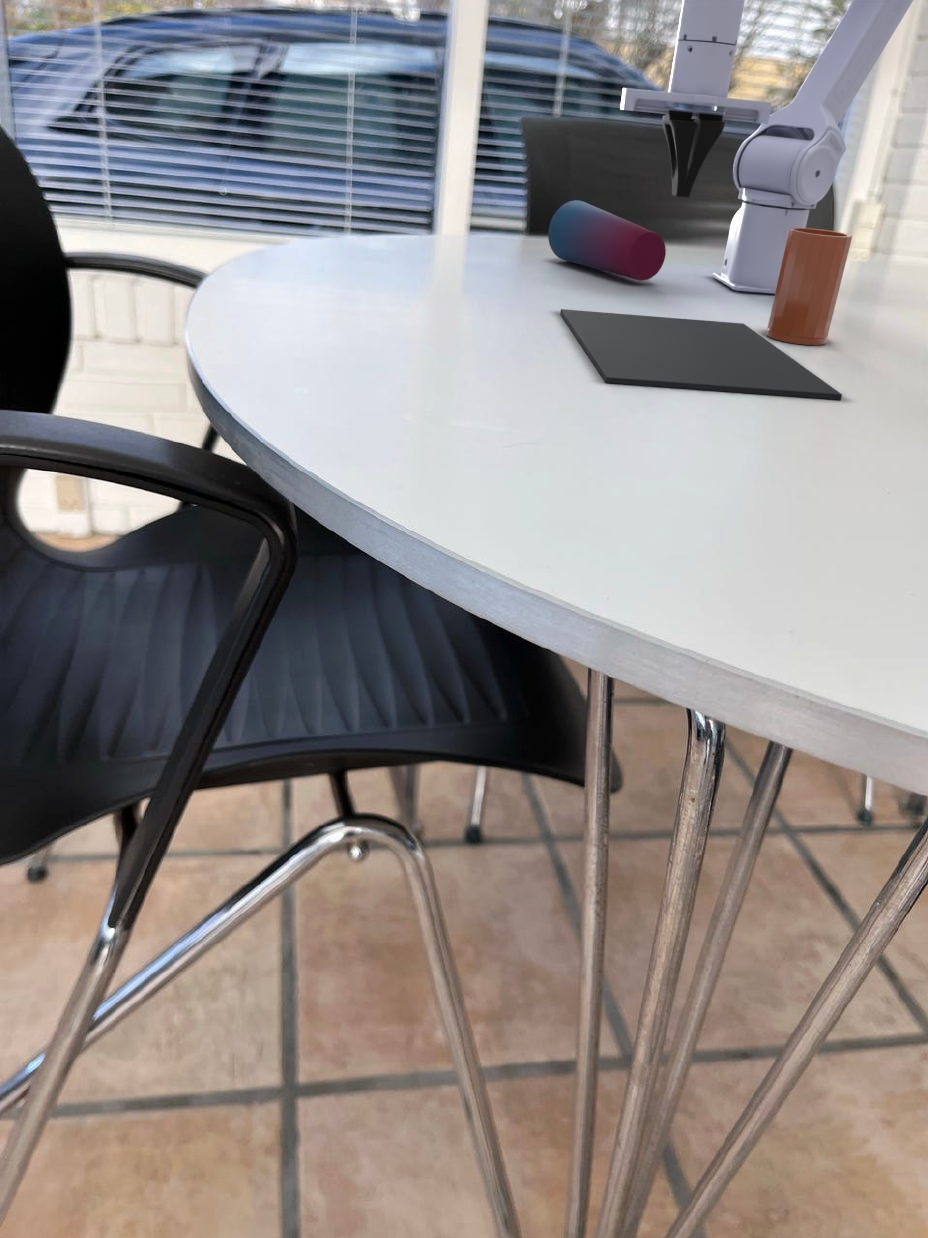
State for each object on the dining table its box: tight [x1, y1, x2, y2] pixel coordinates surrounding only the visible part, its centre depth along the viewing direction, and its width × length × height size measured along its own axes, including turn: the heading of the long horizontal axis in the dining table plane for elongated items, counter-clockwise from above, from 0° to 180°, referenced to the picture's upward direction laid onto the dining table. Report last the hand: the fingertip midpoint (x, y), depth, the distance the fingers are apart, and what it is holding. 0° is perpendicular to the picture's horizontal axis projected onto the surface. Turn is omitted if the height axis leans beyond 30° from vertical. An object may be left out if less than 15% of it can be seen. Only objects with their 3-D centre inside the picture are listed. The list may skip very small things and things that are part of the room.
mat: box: [559, 308, 843, 401], centre depth 82 cm, size 24×17×1 cm
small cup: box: [766, 227, 853, 346], centre depth 89 cm, size 5×5×9 cm
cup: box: [547, 199, 667, 281], centre depth 115 cm, size 7×7×15 cm
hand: (680, 195), depth 104 cm, fingers closed
